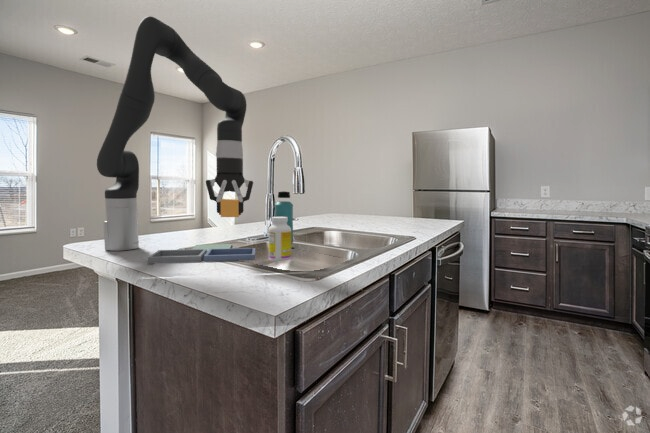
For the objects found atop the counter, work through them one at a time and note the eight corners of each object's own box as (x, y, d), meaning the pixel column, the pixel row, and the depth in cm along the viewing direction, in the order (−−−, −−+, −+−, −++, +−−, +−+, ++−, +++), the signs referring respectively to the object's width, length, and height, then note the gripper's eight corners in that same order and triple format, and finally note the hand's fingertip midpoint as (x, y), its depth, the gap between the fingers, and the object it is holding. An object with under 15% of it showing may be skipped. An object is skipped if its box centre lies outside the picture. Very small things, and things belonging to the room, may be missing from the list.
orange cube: (220, 217, 101) (220, 199, 101) (222, 215, 106) (222, 199, 106) (238, 217, 102) (238, 200, 102) (239, 215, 107) (239, 199, 106)
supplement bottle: (293, 257, 107) (293, 216, 106) (288, 262, 100) (288, 218, 99) (271, 257, 107) (271, 215, 106) (266, 262, 101) (265, 218, 100)
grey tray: (147, 264, 96) (147, 257, 96) (158, 256, 107) (158, 250, 106) (200, 263, 99) (200, 256, 99) (206, 255, 109) (206, 249, 109)
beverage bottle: (283, 246, 124) (282, 191, 122) (297, 249, 121) (297, 191, 119) (270, 249, 119) (269, 191, 117) (284, 252, 115) (284, 191, 113)
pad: (189, 254, 110) (189, 251, 110) (196, 247, 122) (196, 244, 121) (228, 253, 112) (228, 250, 112) (231, 246, 124) (231, 244, 124)
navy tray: (204, 263, 99) (203, 256, 99) (209, 255, 109) (209, 248, 109) (254, 261, 101) (254, 254, 101) (255, 254, 112) (255, 247, 111)
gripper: (254, 158, 107) (254, 213, 109) (206, 157, 105) (207, 213, 106) (254, 157, 100) (254, 216, 102) (202, 155, 97) (203, 216, 99)
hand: (230, 214), depth 104 cm, fingers closed on orange cube, 5 cm apart
